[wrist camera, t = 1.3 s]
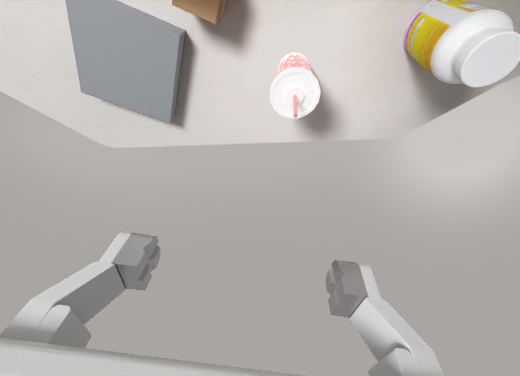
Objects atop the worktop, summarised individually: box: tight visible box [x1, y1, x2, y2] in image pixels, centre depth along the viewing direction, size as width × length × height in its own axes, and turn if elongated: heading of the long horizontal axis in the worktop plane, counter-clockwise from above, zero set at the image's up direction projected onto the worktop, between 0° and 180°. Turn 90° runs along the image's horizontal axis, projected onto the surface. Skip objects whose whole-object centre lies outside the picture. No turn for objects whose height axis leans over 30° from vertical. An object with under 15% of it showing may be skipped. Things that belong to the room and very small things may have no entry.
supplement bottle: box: [404, 0, 520, 87], centre depth 26 cm, size 7×7×13 cm
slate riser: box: [66, 0, 186, 123], centre depth 35 cm, size 14×14×2 cm
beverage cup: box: [270, 53, 321, 118], centre depth 30 cm, size 6×6×14 cm
